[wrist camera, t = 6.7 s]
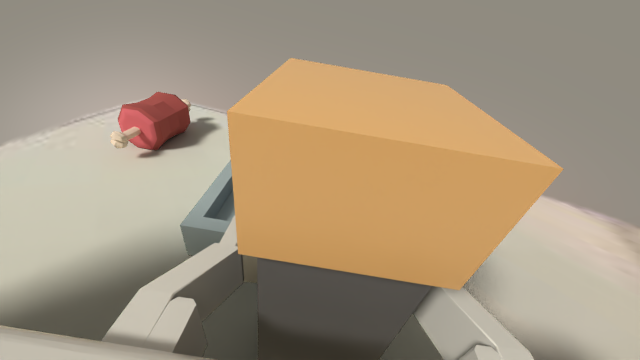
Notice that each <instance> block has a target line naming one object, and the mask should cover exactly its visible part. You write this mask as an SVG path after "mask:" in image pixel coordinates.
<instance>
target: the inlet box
mask: <svg viewBox="0 0 640 360" xmlns="http://www.w3.org/2000/svg"><path fill="white" fill-rule="evenodd" d="M234 216H235V207H234V194H233V181H232V168H231V160H230V162H229V163H228V164H227V165H226V167H225V168H224V169H223V171H222V172H221V173H220V174H219V176H218V177H217V178H216V180H215V181H214V182H213V183H212V185H211V186H210V187H209V189H208V190H207V191H206V192H205V194H204V195H203V196H202V198H201V199H200V200H199V201H198V203H197V204H196V205H195V207H194V208H193V209H192V210H191V212H190V213H189V214H188V216H187V217H186V218H185V219H184V221H183V222H182V223H181V225H180V227H181V230H182V234H183V238H184V242H185V246H186V249H187V253H188V255H192V256H194V255H196V254H197V253H199V252H201V251H202V250H204V249H205V248H207V247H209V246H210V245H212V244H214V243H220V241H221V239H222V237H223V236H224V234H225V232H226V230H227V228H228V226H229V225H230V223H231V221H232V219H233V217H234Z"/></svg>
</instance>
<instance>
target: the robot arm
mask: <svg viewBox="0 0 640 360" xmlns="http://www.w3.org/2000/svg"><path fill="white" fill-rule="evenodd" d="M243 281H244V282H251V283H257V257H253V256H247V255H241V254H238V246H237V233H236V220H235V216H234V217H233V219H232V221H231V223H230V225H229V226H228V228H227V230H226V232H225V234H224V236H223V237H222V239H221V241H220V243H214V244H212V245H210V246H209V247H207V248H205V249H204V250H202V251H201V252H199V253H197V254H196V255H194V256H192V257H191V258H189V259H187V260H186V261H184V262H183V263H181V264H179V265H178V266H176V267H174V268H173V269H171V270H169V271H168V272H166V273H165V274H163V275H161V276H160V277H158V278H156V279H155V280H153V281H152V282H150V283H148V284H147V285H145V286H143V287H142V288H140V289H139V290H138V292H137V293H136V294H135V296H134V297H133V298H132V300H131V301H130V302H129V304H128V305H127V306H126V308H125V309H124V310H123V312H122V313H121V314H120V316H119V317H118V318H117V320H116V321H115V322H114V324H113V325H112V326H111V328H110V329H109V330H108V332H107V333H106V334H105V336H104V337H103V338H102V340H101V341H96V340H90V339H83V338H77V337H71V336H65V335H58V334H52V333H46V332H39V331H33V330H27V329H20V328H14V327H8V326H1V325H0V360H216V359H210V358H203V354H204V352H205V349H206V347H207V340H206V337H205V333H204V330H203V326H202V322H203V321H204V320H205V319H206V318H207V317H208V316H209V315H210V314H211V313H212V312H213V311H214V310H215V309H216V308H217V307H219V306H220V305H221V304H222V303H223V302H224V301H225V300H226V299H227V298H228V297H229V296H230V295H231V294H232V293H233V292H234V291H235V290H236V289H237V288H239V287H240V286H241V285H242V284H243ZM413 314H414V316H415V317H416V319H417V320H418V322H419V323H420V325H421V326H422V328H423V329H424V331H425V332H426V334H427V335H428V337H429V338H430V340H431V341H432V343H433V344H434V346H435V347H436V349H437V350H438V352H439V353H440V355H441V356H442V358H443V359H444V360H534V359H533V357H532V355H531V353H530V352H529V351H528V350H527V349H526V348H525V347H524V346H523V345H522V344H521V343H520V342H519V341H518V340H517V339H516V338H515V337H514V336H513V335H512V334H511V333H510V332H509V331H508V330H507V329H506V328H505V327H503V326H502V325H501V324H500V323H499V322H498V321H497V320H496V319H495V318H494V317H493V316H492V315H491V314H490V313H489V312H488V311H487V310H486V309H485V308H484V307H483V306H482V305H481V304H480V303H479V302H478V301H477V300H476V299H475V298H474V297H473V296H471V295H470V294H469V293H468V292H467V291H466V290H465V289H464V288H463V287H462V288H461V289H460V290H454V289H448V288H442V287H436V286H432V287H431V288H430V290H429V291H428V293H427V294H426V295H425V297H424V298H423V299H422V301H421V302H420V304H419V305H418V306H417V308H416V309H415V310H414V312H413Z"/></svg>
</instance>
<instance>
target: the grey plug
mask: <svg viewBox="0 0 640 360" xmlns="http://www.w3.org/2000/svg"><path fill="white" fill-rule="evenodd" d="M227 117H228V129H229V142H230V155H231V168H232V181H233V194H234V207H235V220H236V233H237V246H238V254H241V255H247V256H253V257H257V303H258V360H379V358H380V357H381V356H382V354H383V353H384V351H385V350H386V349H387V347H388V346H389V345H390V343H391V342H392V341H393V339H394V338H395V336H396V335H397V334H398V332H399V331H400V330H401V328H402V327H403V325H404V324H405V323H406V321H407V320H408V319H409V317H410V316H411V315H412V313H413V312H414V310H415V309H416V308H417V306H418V305H419V304H420V302H421V301H422V299H423V298H424V297H425V295H426V294H427V293H428V291H429V290H430V288H431V287H432V286H436V287H442V288H448V289H454V290H460V289H461V288H462V287H463V285H464V284H465V283H466V282H467V281H468V280H469V278H470V277H471V276H472V275H473V274H474V273H475V271H476V270H477V269H478V268H479V267H480V266H481V264H482V263H483V262H484V261H485V260H486V259H487V257H488V256H489V255H490V254H491V253H492V252H493V250H494V249H495V248H496V247H497V246H498V245H499V243H500V242H501V241H502V240H503V239H504V238H505V237H506V235H507V234H508V233H509V232H510V231H511V230H512V228H513V227H514V226H515V225H516V224H517V223H518V221H519V220H520V219H521V218H522V217H523V216H524V214H525V213H526V212H527V211H528V210H529V209H530V207H531V206H532V205H533V204H534V203H535V202H536V200H537V199H538V198H539V197H540V196H541V195H542V193H543V192H544V191H545V190H546V189H547V188H548V186H549V185H550V184H551V183H552V182H553V181H554V179H555V178H556V177H557V176H558V175H559V174H560V173H561V171H562V170H563V168H561V167H560V166H559V165H557V164H556V163H555V162H553V161H552V160H550V159H549V158H548V157H546V156H545V155H543V154H542V153H541V152H539V151H538V150H536V149H535V148H534V147H532V146H531V145H529V144H528V143H526V142H525V141H524V140H522V139H521V138H519V137H518V136H517V135H516V134H514V133H513V132H511V131H510V130H509V129H507V128H506V127H504V126H503V125H502V124H500V123H499V122H497V121H496V120H495V119H493V118H492V117H491V116H489V115H487V114H486V113H485V112H484V111H482V110H481V109H479V108H478V107H477V106H475V105H474V104H472V103H471V102H470V101H468V100H467V99H465V98H464V97H462V96H461V95H460V94H458V93H457V92H456V91H454V90H453V89H451V88H450V87H448V86H447V85H442V84H437V83H431V82H425V81H419V80H414V79H408V78H402V77H397V76H391V75H385V74H379V73H373V72H368V71H363V70H357V69H351V68H345V67H340V66H334V65H328V64H322V63H317V62H311V61H305V60H300V59H294V58H290V59H289V60H288V61H287V62H285V63H284V64H283V65H282V66H281V67H280V68H278V69H277V70H276V71H275V72H273V73H272V74H271V75H270V76H269V77H267V78H266V79H265V80H264V81H263V82H262V83H261V84H259V85H258V86H257V87H255V88H254V89H253V90H252V91H251V92H249V93H248V94H247V95H246V96H245V97H243V98H242V99H241V100H240V101H239V102H238V103H236V104H235V105H234V106H233V107H232V108H230V109H229V110H228V111H227Z"/></svg>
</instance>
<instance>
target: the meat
mask: <svg viewBox="0 0 640 360" xmlns="http://www.w3.org/2000/svg"><path fill="white" fill-rule="evenodd" d="M190 106H191V104H190V102H189V101H188V100H187V99H182V100H181V99H179V98H178V97H177V96H176V95H172V94H167V93H161V92H156V93H155V94H154V95H153V96H151V97H150V98H148V99H146V100H143V101H140V102H138V103H132V104H125V105H122V108H121V111H120V114H119V117H118V122H119V125H120V128H121V131H122V133H121V132H117V131H113V133H112V134H111V135H110V137H111V138H112V140H111V143H112V144H113V145H114V146H115V147H116V148H125V147H126V146H127V144H128V141H130V142H131V143H133V144H134V145H135V146H137V147H139V148H145V149H151V150H158V149H159V148H160V146H161V145H162V144H163V143H164V142H165V141H167V140H168V139H170V138H171V137H173V136H174V135H177V134H180V133H183V132H185V130H186V129H187V127H188V125H189V124H190V117H189V111H190V108H189V107H190Z"/></svg>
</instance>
